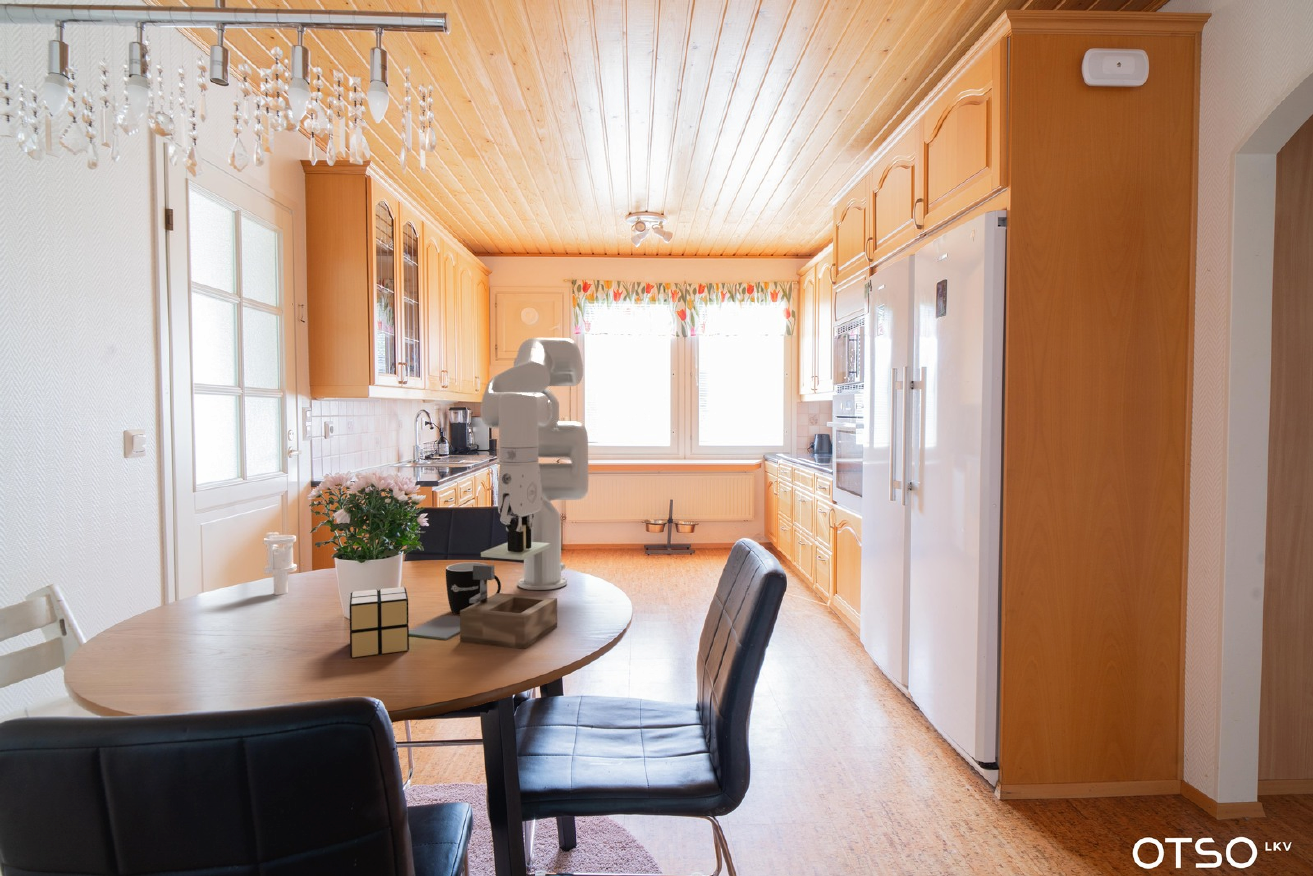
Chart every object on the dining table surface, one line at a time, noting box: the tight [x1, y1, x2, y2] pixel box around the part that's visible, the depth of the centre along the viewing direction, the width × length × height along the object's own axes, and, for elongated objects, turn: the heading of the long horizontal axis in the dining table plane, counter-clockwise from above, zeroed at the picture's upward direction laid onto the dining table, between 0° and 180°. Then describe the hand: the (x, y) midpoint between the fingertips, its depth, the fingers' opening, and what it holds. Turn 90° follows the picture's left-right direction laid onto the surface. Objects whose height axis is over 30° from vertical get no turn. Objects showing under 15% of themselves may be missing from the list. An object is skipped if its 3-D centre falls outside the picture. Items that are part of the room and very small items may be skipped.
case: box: [459, 592, 558, 650], centre depth 135 cm, size 14×14×6 cm
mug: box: [445, 561, 502, 616], centre depth 152 cm, size 12×9×10 cm
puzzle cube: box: [348, 586, 410, 659], centre depth 128 cm, size 10×10×10 cm
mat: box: [409, 614, 460, 641], centre depth 139 cm, size 13×10×1 cm
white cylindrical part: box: [263, 531, 298, 596], centre depth 166 cm, size 7×7×15 cm
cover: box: [480, 525, 551, 561], centre depth 135 cm, size 12×9×6 cm
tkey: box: [469, 564, 495, 603], centre depth 135 cm, size 4×6×7 cm
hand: (519, 549), depth 132 cm, fingers closed on cover, 2 cm apart
